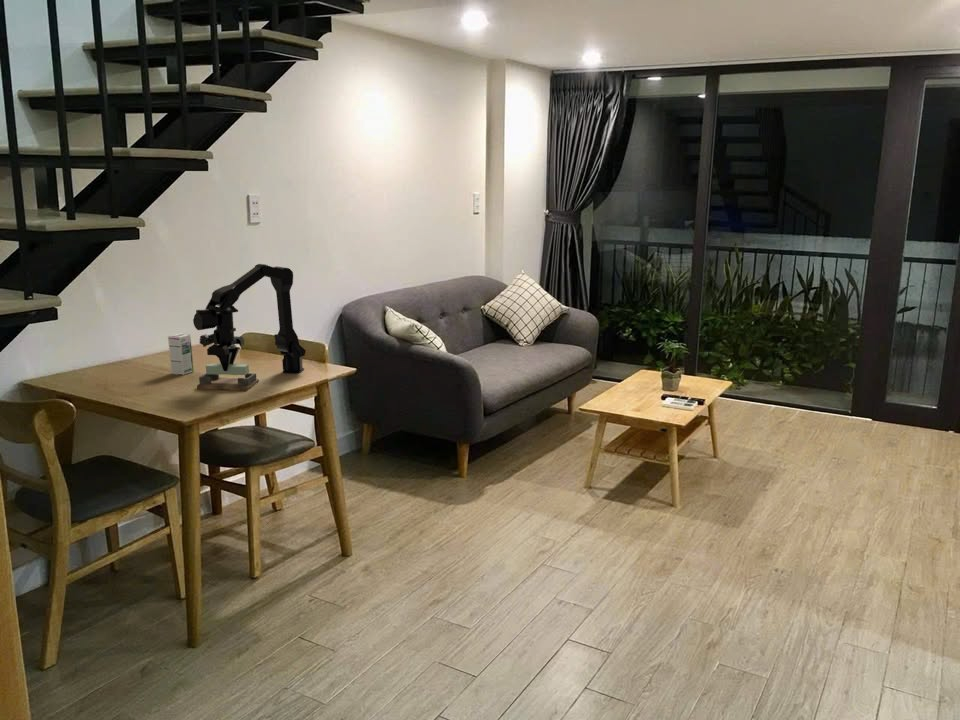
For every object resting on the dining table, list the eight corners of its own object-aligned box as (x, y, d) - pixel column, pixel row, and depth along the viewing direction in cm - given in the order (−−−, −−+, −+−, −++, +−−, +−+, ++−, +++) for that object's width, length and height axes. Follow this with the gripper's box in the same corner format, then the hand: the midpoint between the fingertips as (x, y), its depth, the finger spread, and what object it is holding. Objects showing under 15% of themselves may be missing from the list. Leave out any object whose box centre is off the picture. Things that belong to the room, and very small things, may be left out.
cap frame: (258, 382, 288) (258, 372, 287) (247, 390, 277) (246, 380, 277) (210, 380, 290) (209, 370, 289) (197, 388, 279) (196, 378, 278)
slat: (249, 372, 284) (248, 364, 283) (245, 375, 280) (245, 366, 280) (210, 371, 285) (209, 363, 284) (206, 374, 281) (205, 365, 281)
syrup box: (183, 375, 297) (180, 336, 293) (170, 373, 299) (167, 335, 295) (193, 371, 302) (191, 333, 298) (181, 370, 304) (178, 332, 300)
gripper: (213, 320, 288) (216, 362, 292) (190, 330, 270) (194, 375, 274) (243, 321, 287) (246, 363, 291) (222, 331, 269) (225, 376, 273)
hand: (227, 369), depth 282 cm, fingers closed on slat, 3 cm apart
